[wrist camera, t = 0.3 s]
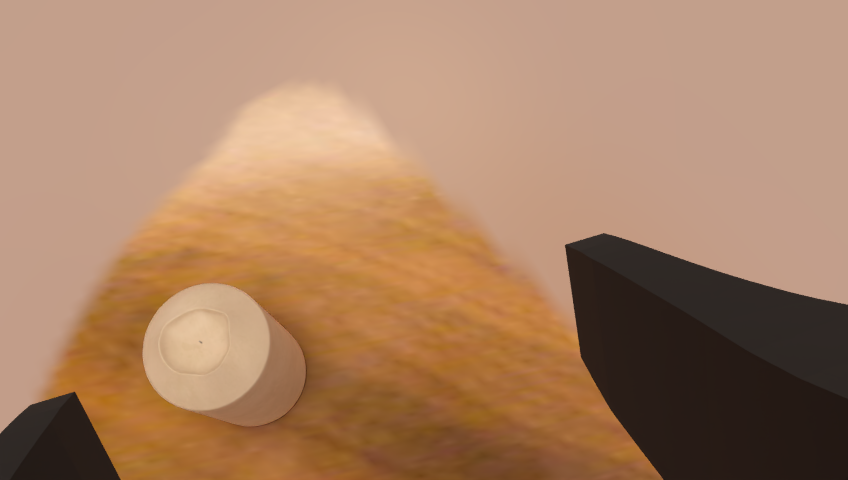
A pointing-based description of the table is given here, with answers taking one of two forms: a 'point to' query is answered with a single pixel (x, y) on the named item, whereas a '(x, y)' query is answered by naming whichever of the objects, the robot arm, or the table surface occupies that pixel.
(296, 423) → the table surface
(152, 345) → the candle
